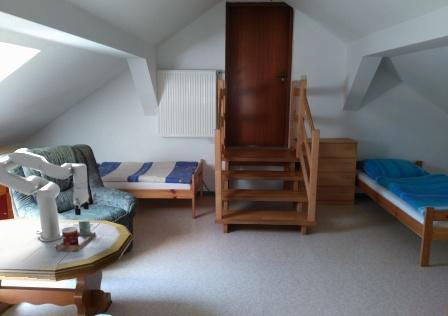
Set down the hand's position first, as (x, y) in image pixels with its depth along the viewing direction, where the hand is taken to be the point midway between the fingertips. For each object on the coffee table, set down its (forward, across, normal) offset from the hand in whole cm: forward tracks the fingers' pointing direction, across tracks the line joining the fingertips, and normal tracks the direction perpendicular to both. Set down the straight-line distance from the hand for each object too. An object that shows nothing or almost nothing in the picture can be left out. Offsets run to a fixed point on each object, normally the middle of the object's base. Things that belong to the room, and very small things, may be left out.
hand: (82, 212), depth 212 cm
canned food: (+15, +16, +1) cm, 22 cm away
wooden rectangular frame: (+15, +10, +1) cm, 18 cm away
